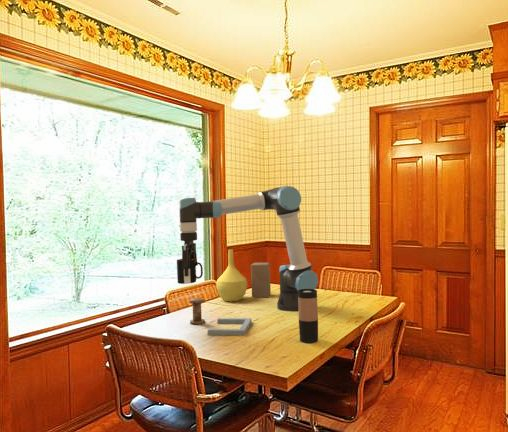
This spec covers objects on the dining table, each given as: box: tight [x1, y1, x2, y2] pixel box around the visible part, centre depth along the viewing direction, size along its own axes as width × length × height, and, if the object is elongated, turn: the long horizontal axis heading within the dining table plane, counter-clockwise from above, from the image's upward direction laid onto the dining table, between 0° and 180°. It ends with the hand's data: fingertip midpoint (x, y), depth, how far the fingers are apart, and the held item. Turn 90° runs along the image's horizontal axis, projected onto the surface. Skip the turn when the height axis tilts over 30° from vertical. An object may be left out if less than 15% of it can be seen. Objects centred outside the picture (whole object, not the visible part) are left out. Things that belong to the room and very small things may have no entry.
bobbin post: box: [189, 297, 206, 326], centre depth 199 cm, size 7×7×11 cm
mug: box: [176, 258, 204, 285], centre depth 190 cm, size 8×12×10 cm
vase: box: [216, 249, 248, 303], centre depth 247 cm, size 18×18×30 cm
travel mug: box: [297, 288, 319, 344], centre depth 167 cm, size 8×8×20 cm
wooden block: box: [250, 262, 272, 299], centre depth 256 cm, size 10×10×20 cm
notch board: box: [207, 317, 253, 336], centre depth 188 cm, size 16×20×2 cm
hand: (190, 281), depth 190 cm, fingers closed on mug, 8 cm apart
